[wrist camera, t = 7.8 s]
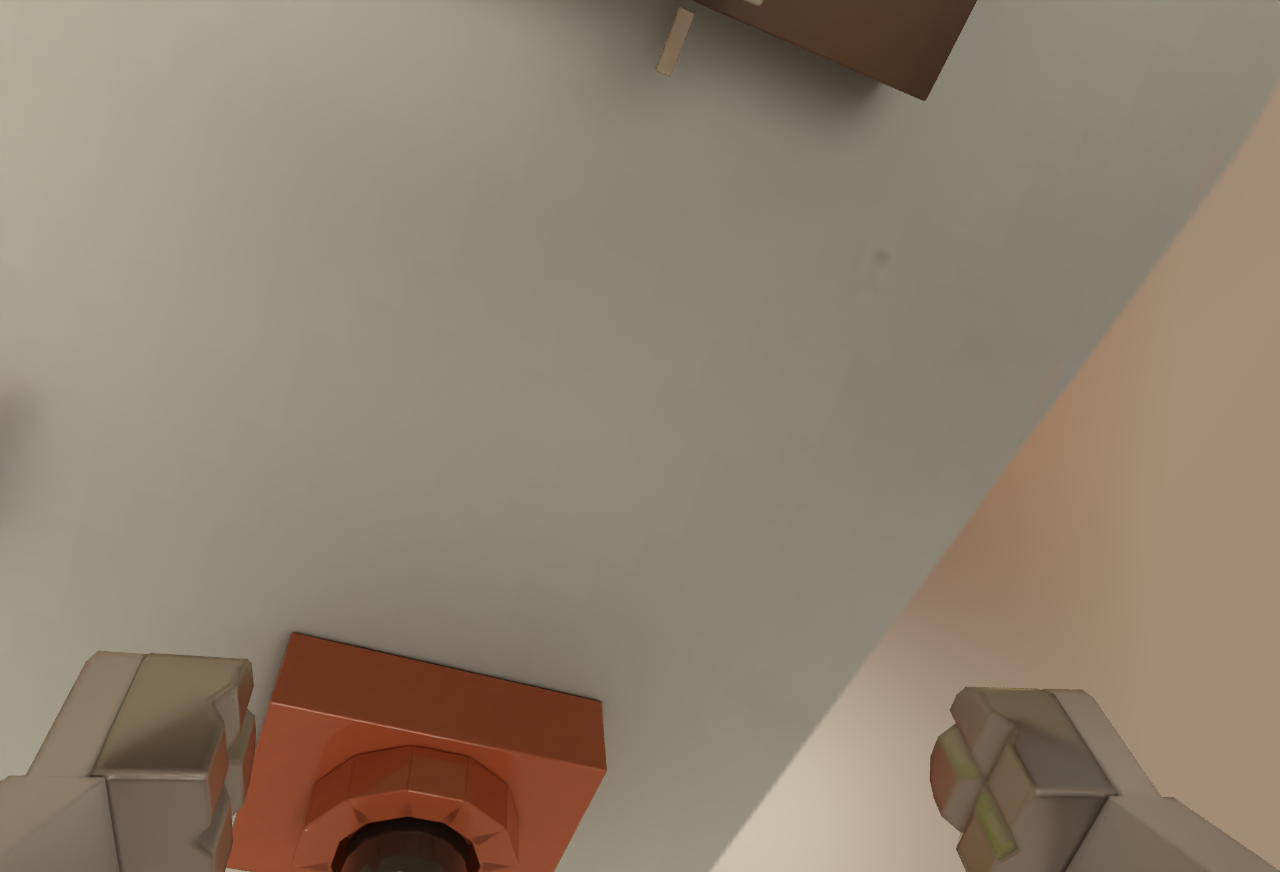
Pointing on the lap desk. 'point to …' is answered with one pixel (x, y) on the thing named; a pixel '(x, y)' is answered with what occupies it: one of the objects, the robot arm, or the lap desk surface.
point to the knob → (755, 2)
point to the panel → (850, 34)
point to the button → (406, 848)
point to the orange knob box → (414, 761)
